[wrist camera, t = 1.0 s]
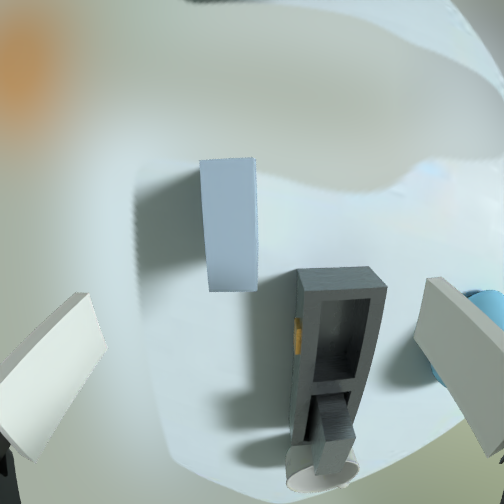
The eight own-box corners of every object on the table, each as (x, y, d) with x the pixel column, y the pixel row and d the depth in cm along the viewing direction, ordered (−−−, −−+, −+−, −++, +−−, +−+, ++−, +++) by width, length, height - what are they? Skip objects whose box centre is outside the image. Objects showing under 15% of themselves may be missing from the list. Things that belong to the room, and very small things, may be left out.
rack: (293, 268, 28) (311, 332, 17) (368, 266, 27) (418, 321, 17) (286, 419, 35) (290, 483, 24) (340, 414, 34) (355, 475, 24)
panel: (222, 160, 25) (199, 160, 15) (255, 159, 25) (253, 157, 15) (226, 245, 27) (209, 291, 18) (258, 244, 27) (257, 291, 18)
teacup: (272, 436, 36) (273, 478, 29) (340, 413, 34) (351, 456, 27) (304, 467, 40) (308, 502, 32) (360, 449, 38) (370, 483, 30)
